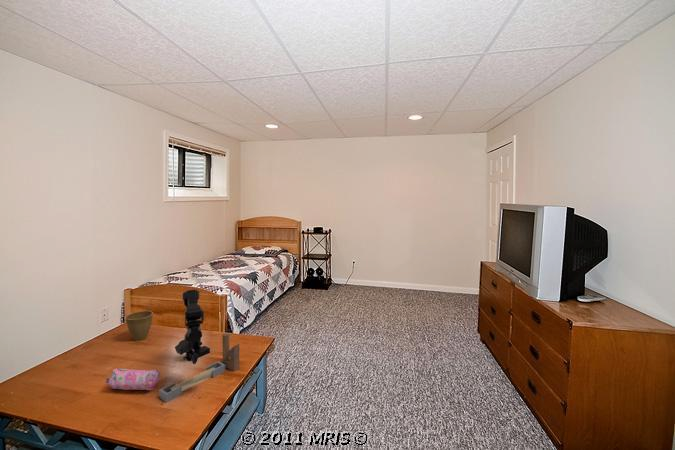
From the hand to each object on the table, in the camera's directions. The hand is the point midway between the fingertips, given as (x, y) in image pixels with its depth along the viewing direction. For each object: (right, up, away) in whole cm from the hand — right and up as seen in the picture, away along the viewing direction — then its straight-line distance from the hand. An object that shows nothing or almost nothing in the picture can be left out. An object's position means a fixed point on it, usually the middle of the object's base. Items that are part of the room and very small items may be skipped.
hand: (194, 363), depth 141 cm
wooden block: (+12, -10, +15) cm, 22 cm away
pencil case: (-27, -10, -4) cm, 29 cm away
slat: (0, -10, +1) cm, 10 cm away
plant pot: (-60, -6, +47) cm, 77 cm away
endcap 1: (-6, -10, -9) cm, 15 cm away
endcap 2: (+6, -10, +10) cm, 15 cm away
